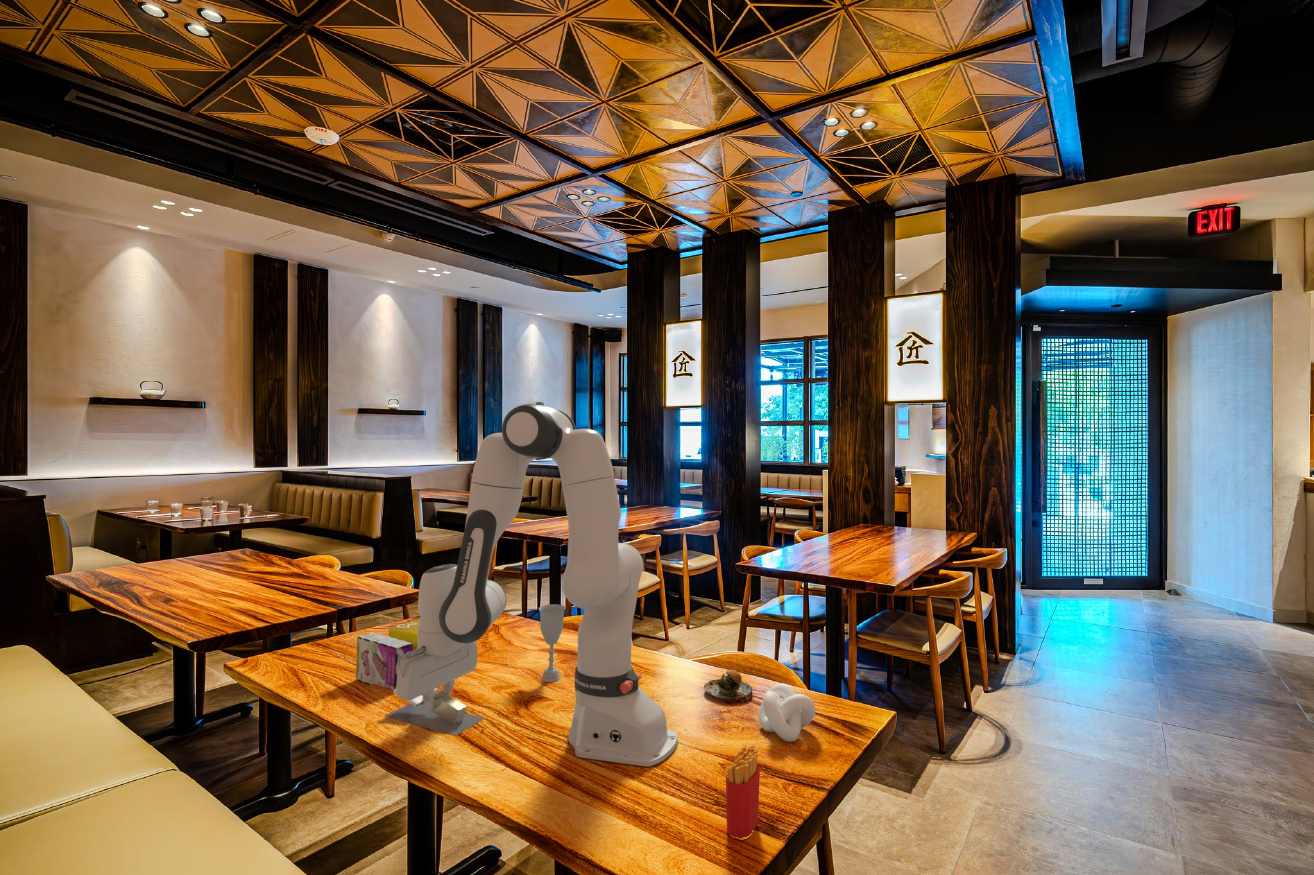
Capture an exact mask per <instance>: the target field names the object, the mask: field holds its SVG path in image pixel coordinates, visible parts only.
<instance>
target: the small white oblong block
mask: <svg viewBox="0 0 1314 875" xmlns="http://www.w3.org/2000/svg"><path fill="white" fill-rule="evenodd" d="M442 691H443V690H441V689H439V688H435V689H434V694H432V697H433V699H436V700H437V707H436V708H434V709H432V710H431V711H432V712H434V713H435V714H437V715H439V716H440V717H442V718H443V719H445V720H447V721H448V722H450V723H451V724H453V725H457V724H459V723H461V722H463V720H464V715H465V713H466V710H467V706H468V705H465V703H462V702H461V701H459V700H458V699H455V698H454V697H452V696H451V695H450V696H449V695H447V694H446V693H444V692H442ZM393 694H395V695H397V694H396V689H395V690H393ZM405 701H406V702H408V703H409V704H413V705H414V706H416V707H417V706H419V705H422V706H424V707H426V701H425V699H424V698H423V696H422V695H420V696H418V697H416V698H414V699H412V700H405Z"/></svg>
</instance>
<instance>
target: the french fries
mask: <svg viewBox="0 0 1314 875" xmlns="http://www.w3.org/2000/svg"><path fill="white" fill-rule="evenodd" d="M758 751H759V750H758V749H756V748H755V744H753V745H750V746H749V747H747V745H742V747H741V749H740V751H738V752H736V753H735V754H734V755H733V763H732V764H730V765H729V766H728V767H727V776H725V794H726V796H725V798H726V802H725V803H726V808H725V810H726V832H727V831H728V833H729V835H732V836H734V837H738V838H743V837H747V836H749V835H750V834H751V833H752V831H753V830H754V829H755V827H756V826H757V823H758V824H759V803H760V801H759V798H760V778H761V777H760V776H761V775H760V774H761V773H760V772H761V771H760V770H761V767H760V765H759V763H758V753H759V752H758ZM757 827H758V826H757ZM755 830H756V829H755ZM728 833H727V834H728ZM729 835H728V836H729Z"/></svg>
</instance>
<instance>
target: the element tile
mask: <svg viewBox="0 0 1314 875" xmlns="http://www.w3.org/2000/svg"><path fill="white" fill-rule="evenodd" d="M419 621H420V618H417V619H414V620H410V621H407V622H404V623H401V624H398V625H395V626H392V627H389V628H388V636H389V637H392V638H396V639H399V640H403V641H407V642H410V643H413V649H414V650H416V649H417V641H418V624H419Z"/></svg>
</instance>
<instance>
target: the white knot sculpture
mask: <svg viewBox="0 0 1314 875" xmlns="http://www.w3.org/2000/svg"><path fill="white" fill-rule="evenodd" d="M815 715H816V705H815V703H814V701H813V700H812V699H811V697H809V696H807V695H805V694H803V693H796V691H795V689H794V688H793V687H791V686H790V685H788V684H786V683H777V684H774V685H772V687H770V689H769V690H768V691H767V692H765V693H764V694H763V697H762V701H761V703H760V708H759V710H758V721H759V725H760V728H762V729H763V730H764V731H765V732H767V733H776V735H778V737H779V738H780V739H782V740H783V741H785V742H787V743H792V742H796V741H797V739H798V738H799V736H800V735H801V730H802V729H803V728H806V727H807V726H808V725H810V723H811V722H812V721H813V720H814V718H815Z"/></svg>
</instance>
